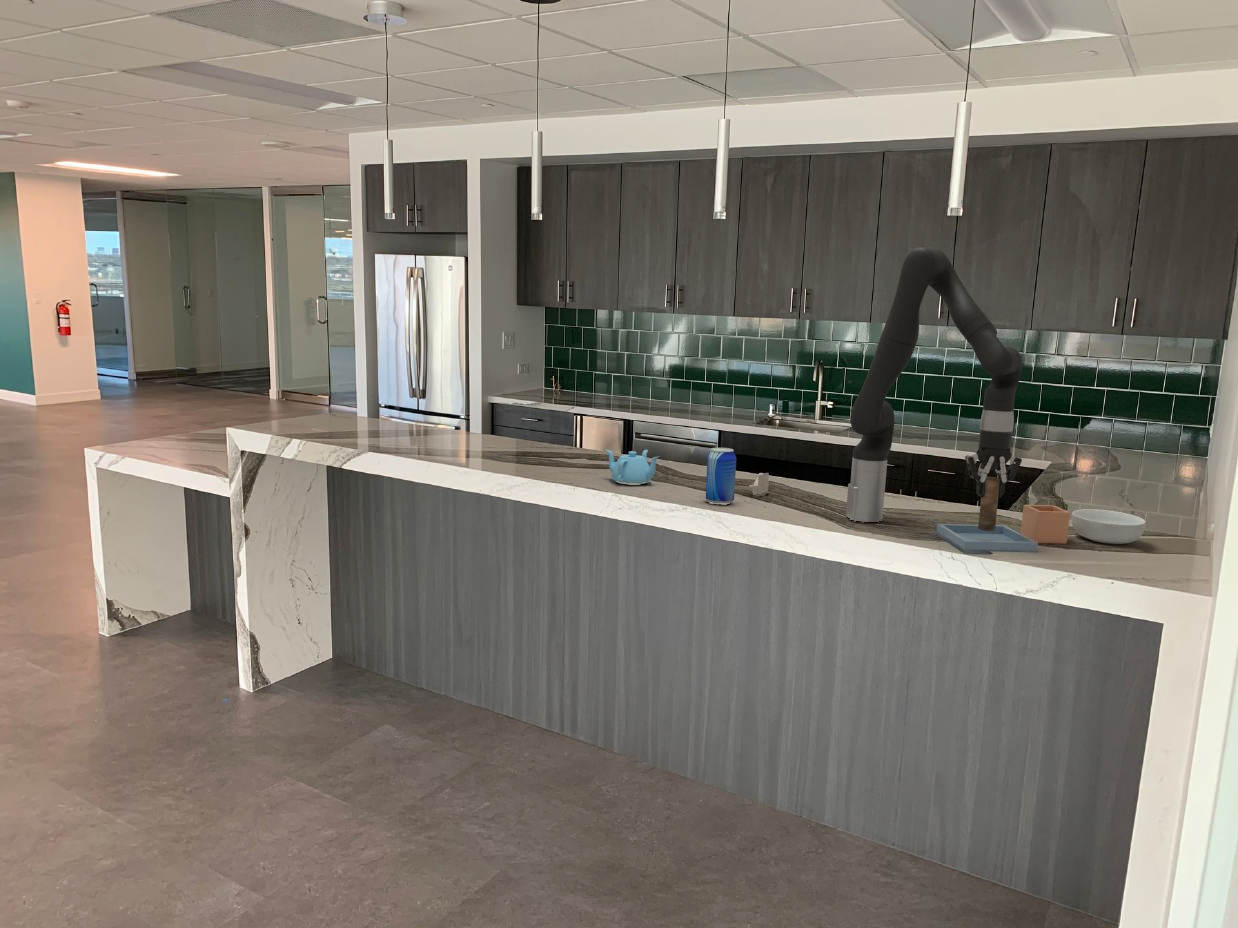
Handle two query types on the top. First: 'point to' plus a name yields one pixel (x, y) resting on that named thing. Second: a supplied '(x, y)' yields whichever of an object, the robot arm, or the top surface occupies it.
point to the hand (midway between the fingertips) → (989, 496)
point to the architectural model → (760, 484)
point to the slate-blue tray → (985, 539)
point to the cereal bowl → (1107, 526)
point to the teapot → (632, 467)
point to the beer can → (721, 475)
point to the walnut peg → (989, 504)
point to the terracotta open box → (1045, 523)
